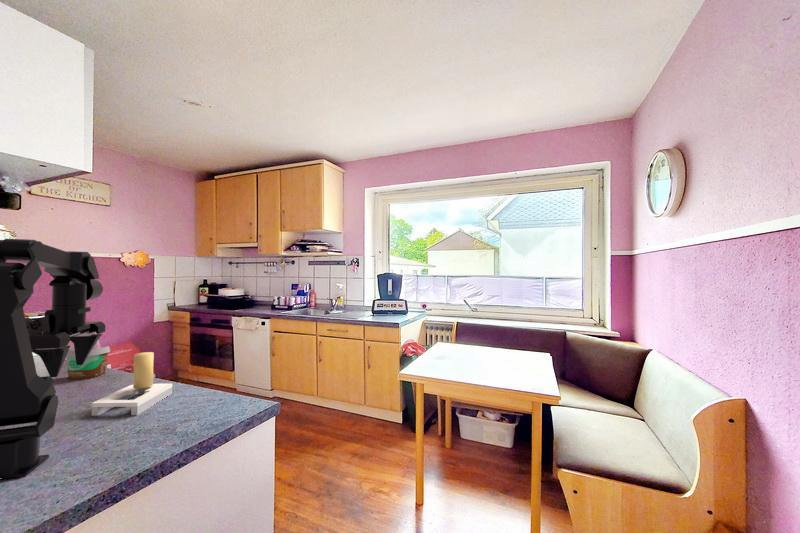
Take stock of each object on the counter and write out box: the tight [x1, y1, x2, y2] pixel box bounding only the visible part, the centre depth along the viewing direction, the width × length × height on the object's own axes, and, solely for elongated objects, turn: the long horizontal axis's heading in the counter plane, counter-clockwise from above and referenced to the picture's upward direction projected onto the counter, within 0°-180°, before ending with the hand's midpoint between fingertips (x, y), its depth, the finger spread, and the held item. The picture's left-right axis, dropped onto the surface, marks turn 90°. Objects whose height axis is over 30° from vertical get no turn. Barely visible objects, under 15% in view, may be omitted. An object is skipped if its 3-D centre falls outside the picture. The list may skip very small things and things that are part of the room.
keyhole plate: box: [91, 383, 173, 417], centre depth 89 cm, size 14×11×3 cm
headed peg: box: [132, 351, 155, 400], centre depth 92 cm, size 4×4×13 cm
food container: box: [65, 345, 111, 381], centre depth 109 cm, size 12×6×10 cm, turn 105°
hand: (67, 370), depth 76 cm, fingers open, 9 cm apart
